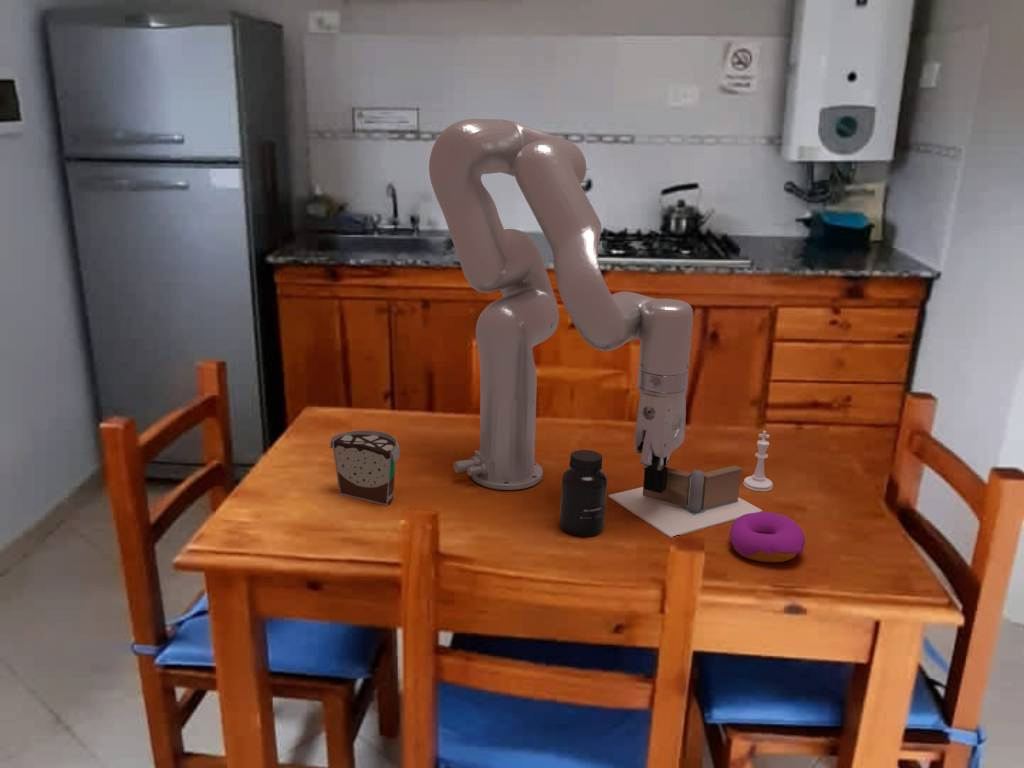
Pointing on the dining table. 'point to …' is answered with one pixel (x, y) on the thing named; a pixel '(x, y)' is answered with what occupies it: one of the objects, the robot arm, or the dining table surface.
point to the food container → (366, 464)
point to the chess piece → (759, 468)
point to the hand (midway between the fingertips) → (654, 489)
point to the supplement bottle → (583, 494)
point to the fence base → (677, 514)
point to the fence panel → (673, 488)
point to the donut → (767, 537)
